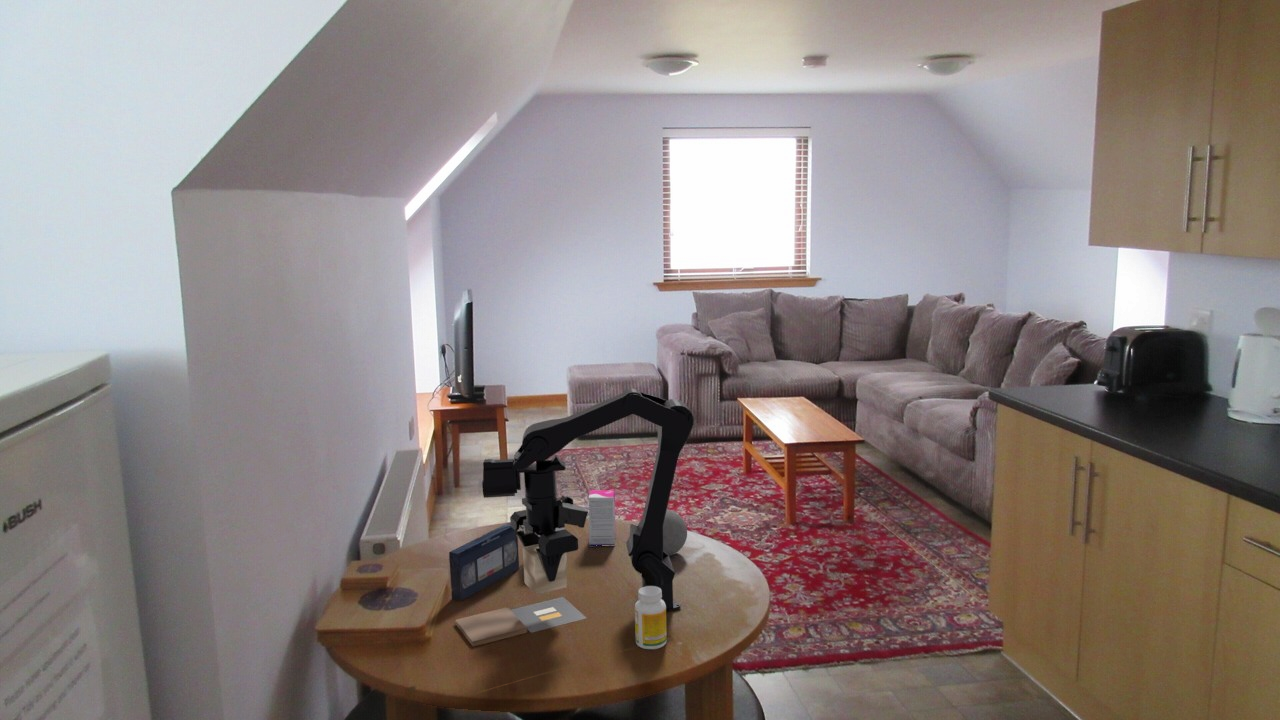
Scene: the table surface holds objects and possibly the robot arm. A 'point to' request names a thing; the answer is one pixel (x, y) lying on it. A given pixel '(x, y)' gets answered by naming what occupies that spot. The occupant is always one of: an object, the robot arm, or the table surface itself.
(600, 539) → the supplement box
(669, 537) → the decorative ball
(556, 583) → the maple block
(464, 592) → the vhs cassette tape
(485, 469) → the robot arm
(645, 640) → the supplement bottle
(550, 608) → the gray tile
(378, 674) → the table surface
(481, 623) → the walnut pad
